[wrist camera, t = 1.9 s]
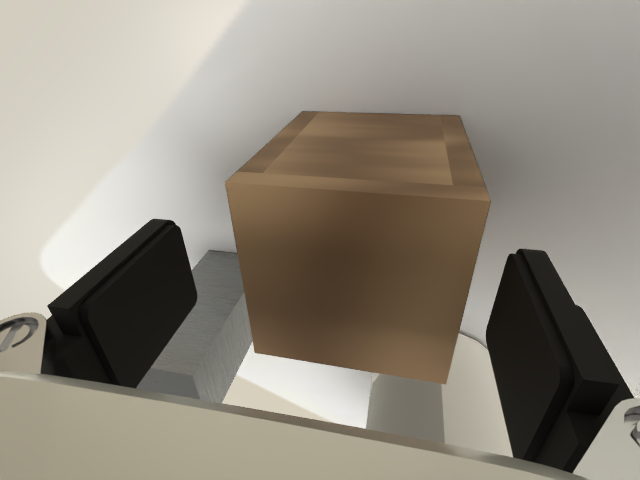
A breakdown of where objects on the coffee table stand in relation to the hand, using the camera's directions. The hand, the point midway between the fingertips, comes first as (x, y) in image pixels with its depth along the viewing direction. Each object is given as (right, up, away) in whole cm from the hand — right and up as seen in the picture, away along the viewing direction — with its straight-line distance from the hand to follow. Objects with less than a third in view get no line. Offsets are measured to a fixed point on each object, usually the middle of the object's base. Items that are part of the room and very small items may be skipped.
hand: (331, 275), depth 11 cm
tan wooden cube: (+2, +3, +5) cm, 6 cm away
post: (-5, -1, +10) cm, 11 cm away
